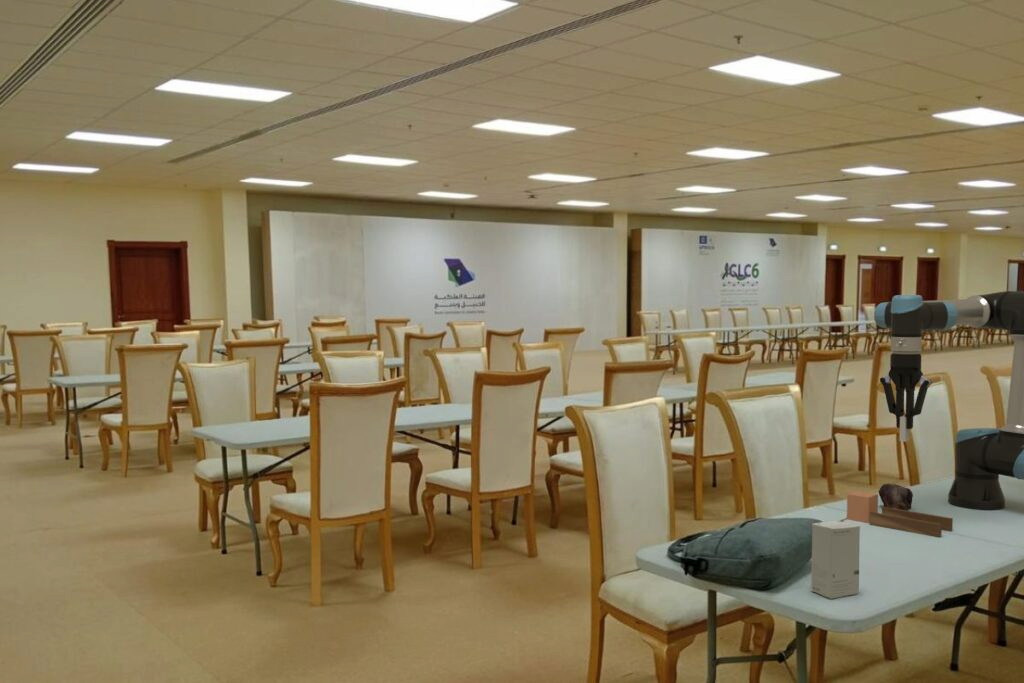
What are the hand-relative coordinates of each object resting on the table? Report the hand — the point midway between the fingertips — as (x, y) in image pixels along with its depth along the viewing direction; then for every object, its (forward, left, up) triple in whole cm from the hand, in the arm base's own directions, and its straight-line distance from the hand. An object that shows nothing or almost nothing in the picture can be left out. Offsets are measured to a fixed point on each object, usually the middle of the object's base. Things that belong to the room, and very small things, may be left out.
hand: (904, 440), depth 230 cm
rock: (-19, -9, -25) cm, 32 cm away
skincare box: (+60, +9, -25) cm, 65 cm away
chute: (0, -2, -24) cm, 24 cm away
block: (0, -11, -23) cm, 26 cm away
